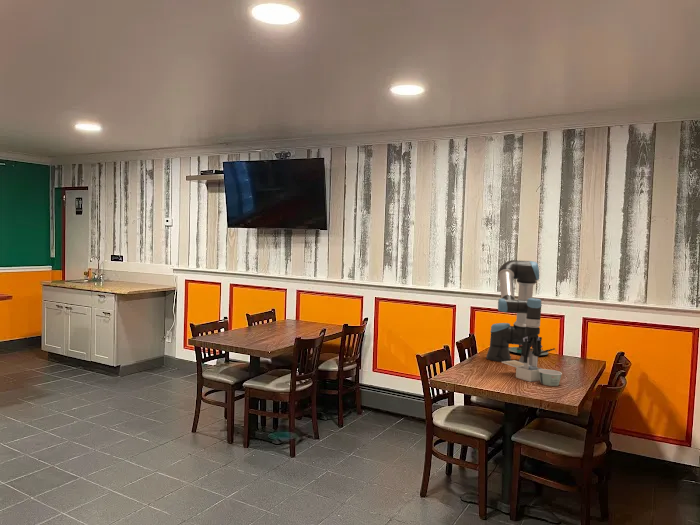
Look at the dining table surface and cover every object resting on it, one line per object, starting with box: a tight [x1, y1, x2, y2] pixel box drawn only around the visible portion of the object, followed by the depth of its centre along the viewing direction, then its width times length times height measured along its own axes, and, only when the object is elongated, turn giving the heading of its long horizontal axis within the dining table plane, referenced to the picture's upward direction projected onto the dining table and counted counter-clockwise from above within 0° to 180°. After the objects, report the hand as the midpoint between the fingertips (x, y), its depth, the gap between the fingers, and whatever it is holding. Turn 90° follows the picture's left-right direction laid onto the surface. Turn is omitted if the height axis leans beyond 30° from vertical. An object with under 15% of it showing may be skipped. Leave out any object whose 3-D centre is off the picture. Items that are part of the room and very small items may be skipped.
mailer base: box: [515, 365, 543, 383], centre depth 302 cm, size 10×11×6 cm
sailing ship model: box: [509, 344, 550, 356], centre depth 381 cm, size 28×28×11 cm
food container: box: [539, 368, 563, 387], centre depth 293 cm, size 12×12×6 cm
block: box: [524, 366, 538, 370], centre depth 302 cm, size 5×5×6 cm
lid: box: [501, 359, 524, 368], centre depth 311 cm, size 11×11×1 cm
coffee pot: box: [517, 347, 557, 366], centre depth 321 cm, size 21×12×15 cm, turn 72°
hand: (530, 368), depth 302 cm, fingers open, 6 cm apart
